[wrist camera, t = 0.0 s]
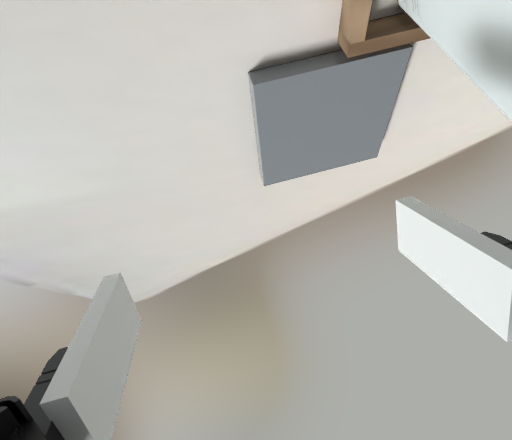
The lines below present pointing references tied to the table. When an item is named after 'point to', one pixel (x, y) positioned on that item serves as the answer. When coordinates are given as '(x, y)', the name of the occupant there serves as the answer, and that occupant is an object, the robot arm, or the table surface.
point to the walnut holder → (374, 29)
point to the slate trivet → (324, 110)
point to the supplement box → (472, 40)
